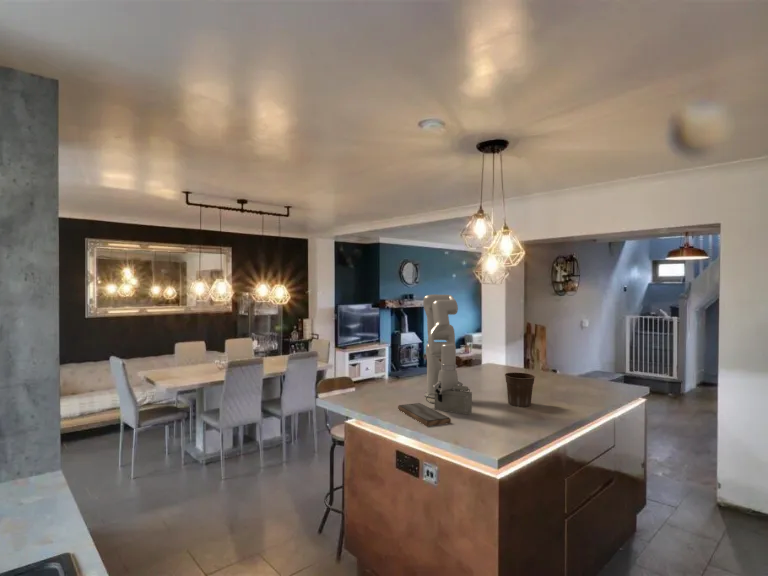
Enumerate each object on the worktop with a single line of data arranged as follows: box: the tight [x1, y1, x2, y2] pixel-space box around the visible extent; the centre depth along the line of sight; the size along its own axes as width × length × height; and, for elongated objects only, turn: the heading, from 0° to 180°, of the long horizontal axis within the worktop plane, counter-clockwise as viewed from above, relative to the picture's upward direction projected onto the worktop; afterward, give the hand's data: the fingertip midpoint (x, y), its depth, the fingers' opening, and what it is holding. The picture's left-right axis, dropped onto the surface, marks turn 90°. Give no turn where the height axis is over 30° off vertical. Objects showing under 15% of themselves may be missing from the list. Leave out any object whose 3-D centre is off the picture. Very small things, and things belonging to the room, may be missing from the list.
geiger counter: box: [425, 382, 473, 416], centre depth 229 cm, size 14×6×25 cm
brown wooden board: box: [397, 402, 452, 427], centre depth 218 cm, size 13×30×2 cm, turn 24°
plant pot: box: [504, 372, 536, 408], centre depth 243 cm, size 16×16×16 cm
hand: (448, 400), depth 228 cm, fingers open, 9 cm apart
